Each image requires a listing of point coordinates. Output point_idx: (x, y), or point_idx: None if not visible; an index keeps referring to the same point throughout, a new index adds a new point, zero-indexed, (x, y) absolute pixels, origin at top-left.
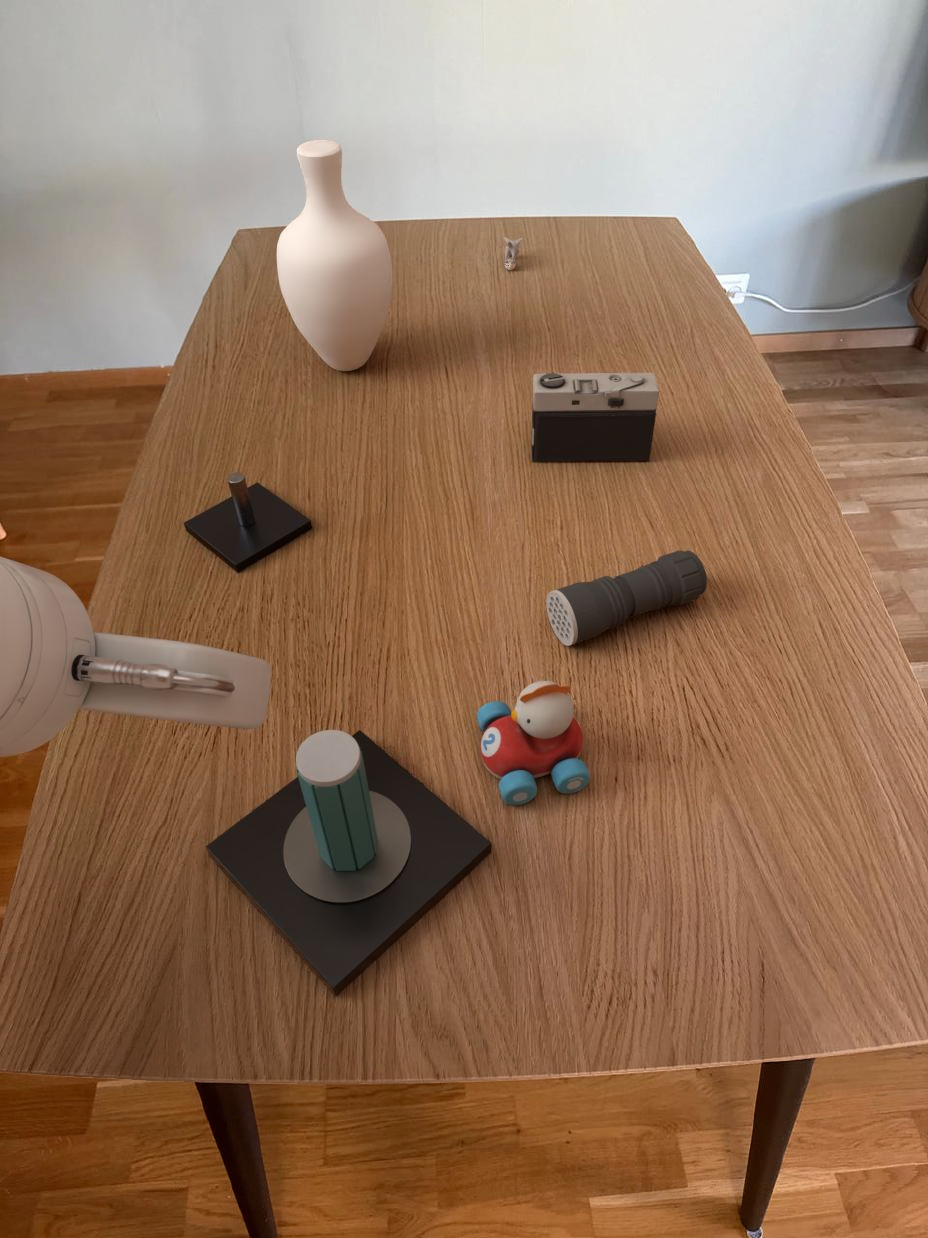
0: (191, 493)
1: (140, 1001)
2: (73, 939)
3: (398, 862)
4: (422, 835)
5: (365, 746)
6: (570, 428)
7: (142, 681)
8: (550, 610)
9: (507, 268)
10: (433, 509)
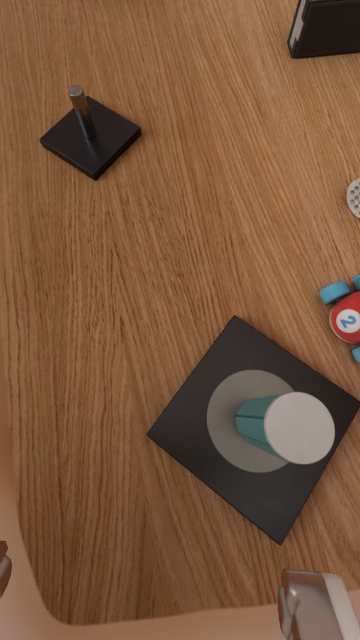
0: (36, 111)
1: (132, 564)
2: (66, 519)
3: None
4: None
5: (243, 329)
6: (333, 19)
7: None
8: (350, 191)
9: None
10: (229, 108)
